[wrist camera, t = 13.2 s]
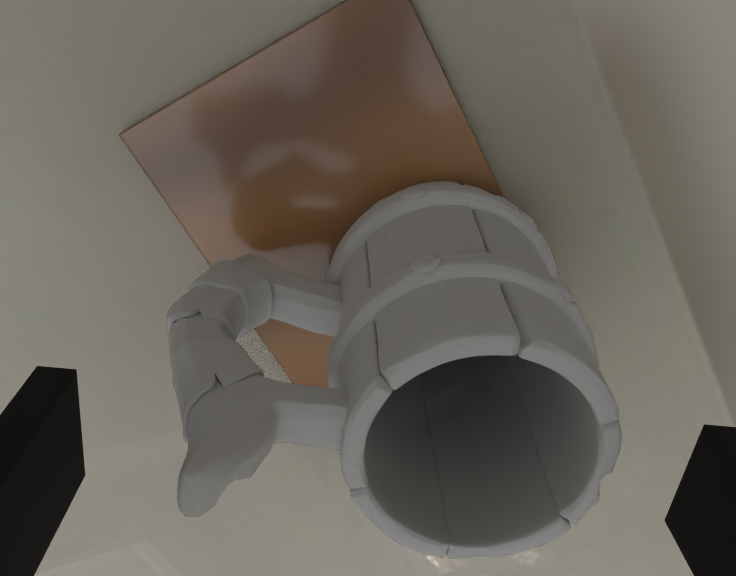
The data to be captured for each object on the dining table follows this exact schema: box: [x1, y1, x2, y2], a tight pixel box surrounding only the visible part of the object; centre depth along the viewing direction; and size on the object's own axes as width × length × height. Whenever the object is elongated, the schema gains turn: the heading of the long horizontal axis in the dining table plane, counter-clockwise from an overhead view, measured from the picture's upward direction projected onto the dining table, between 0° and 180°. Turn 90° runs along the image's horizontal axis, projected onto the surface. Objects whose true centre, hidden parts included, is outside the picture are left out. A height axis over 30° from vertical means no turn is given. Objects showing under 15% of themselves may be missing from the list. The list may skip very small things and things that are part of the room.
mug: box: [167, 181, 621, 559], centre depth 19 cm, size 8×12×12 cm, turn 81°
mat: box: [119, 0, 504, 451], centre depth 24 cm, size 16×10×1 cm, turn 28°
